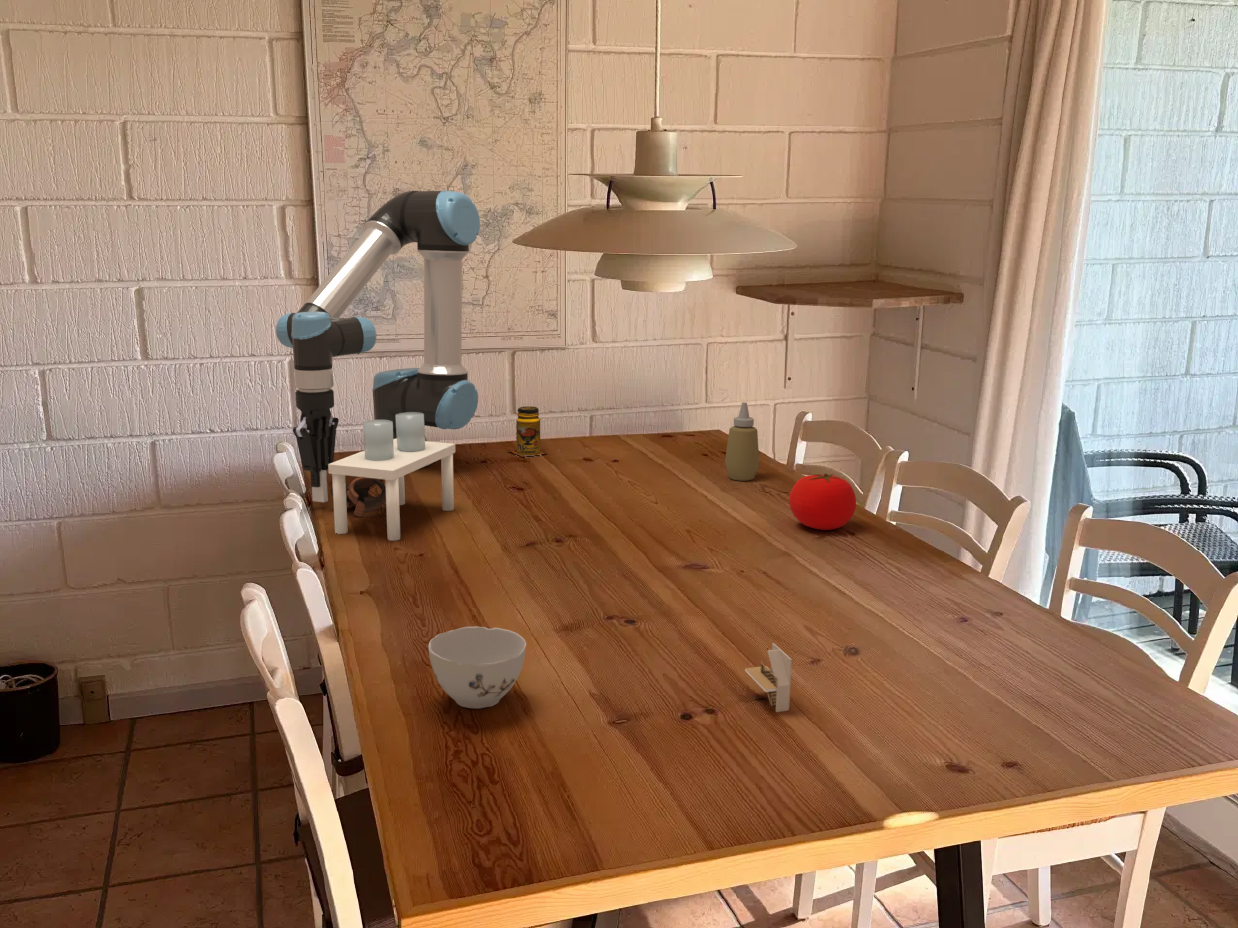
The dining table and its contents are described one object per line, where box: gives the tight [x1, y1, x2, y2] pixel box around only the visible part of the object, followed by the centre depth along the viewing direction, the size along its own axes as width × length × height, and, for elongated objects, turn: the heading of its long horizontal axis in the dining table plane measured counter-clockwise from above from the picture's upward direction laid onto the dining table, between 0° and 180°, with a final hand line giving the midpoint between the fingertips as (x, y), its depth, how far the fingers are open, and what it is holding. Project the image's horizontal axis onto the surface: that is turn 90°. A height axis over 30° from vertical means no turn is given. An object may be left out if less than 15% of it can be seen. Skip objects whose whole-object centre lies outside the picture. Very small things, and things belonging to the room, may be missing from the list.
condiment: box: [515, 405, 542, 456], centre depth 282 cm, size 7×8×12 cm
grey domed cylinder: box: [395, 412, 426, 452], centre depth 224 cm, size 6×6×7 cm
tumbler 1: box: [362, 419, 394, 461], centre depth 216 cm, size 6×6×7 cm
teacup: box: [428, 626, 527, 710], centre depth 145 cm, size 15×12×8 cm
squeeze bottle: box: [724, 402, 760, 482], centre depth 259 cm, size 8×8×18 cm
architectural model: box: [744, 642, 793, 713], centre depth 145 cm, size 3×7×7 cm, turn 16°
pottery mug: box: [330, 477, 386, 518], centre depth 229 cm, size 12×10×8 cm
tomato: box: [788, 473, 857, 531], centre depth 222 cm, size 12×13×11 cm
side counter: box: [327, 439, 456, 542], centre depth 222 cm, size 25×14×14 cm, turn 161°
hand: (320, 500), depth 231 cm, fingers closed
